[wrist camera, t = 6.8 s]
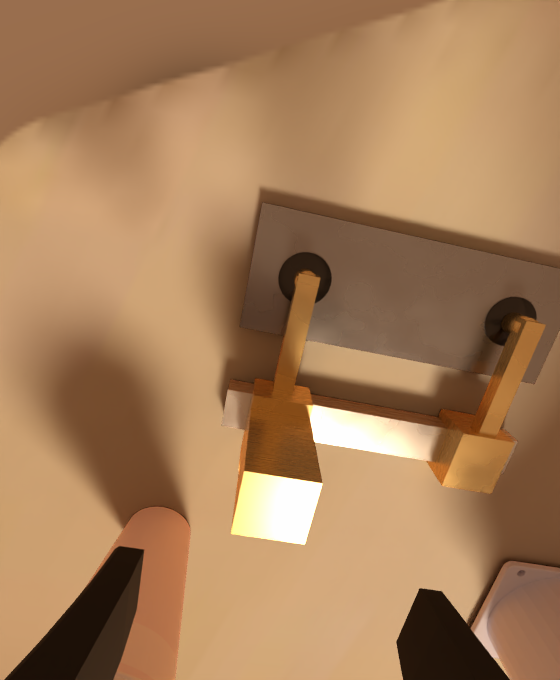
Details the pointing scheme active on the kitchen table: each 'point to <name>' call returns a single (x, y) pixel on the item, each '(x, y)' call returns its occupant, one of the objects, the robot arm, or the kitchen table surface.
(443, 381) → the kitchen table surface
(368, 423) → the dividers bar
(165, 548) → the smoothie
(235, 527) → the orange block with stem
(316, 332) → the flange plate
